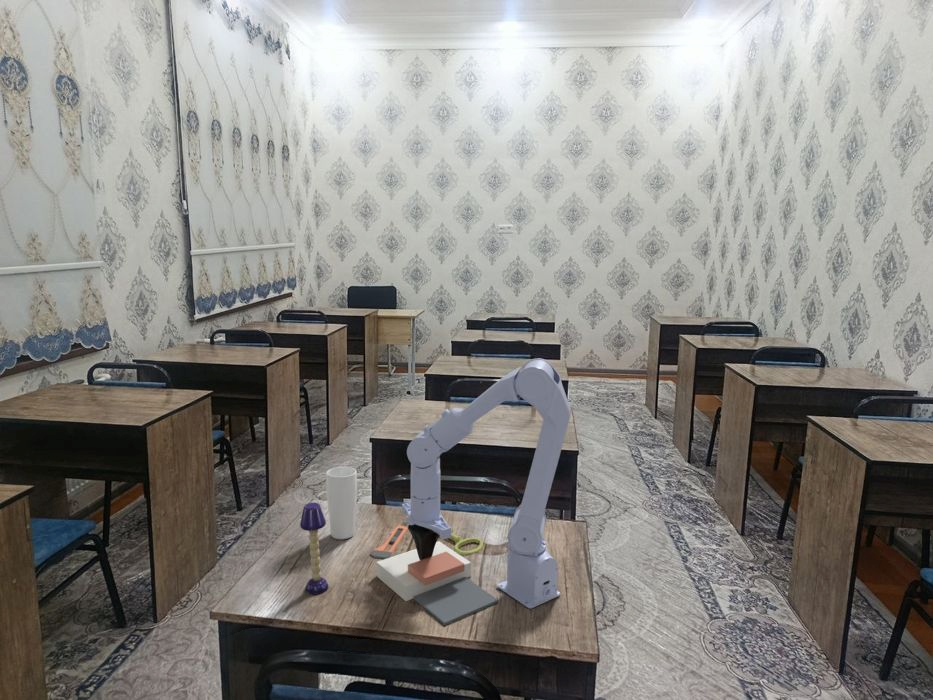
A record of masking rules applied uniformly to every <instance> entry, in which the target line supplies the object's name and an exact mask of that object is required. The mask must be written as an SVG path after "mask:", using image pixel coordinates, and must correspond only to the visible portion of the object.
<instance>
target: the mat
mask: <svg viewBox="0 0 933 700" xmlns="http://www.w3.org/2000/svg"><path fill="white" fill-rule="evenodd" d="M412 600H413V601H415V602H416V603H417V604H418V605H420V607H422V609H425V610H426V611H427V612H428V613H429V614H431V616H433V617H434V619H436V620H437V621H438V622H440V623H441V624H442V625H443V626H446V625H449V624H451V623H453V622H456V621H458V620H460V619H463V618H465V617H468V616H470V615H472V614H475V613H477V612H480V611H482V610H484V609H486V608H489V607H491V606H493V605H495V604H497V603H499V599H497V598H496V597H495V596H493V595H492V594H491V593H489V592H488V591H486V590H485V589H483V588H482V587H480V586H479V585H477V584H476V583H475V582H473V581H472V580H470V579H469V577H468V578H466V577H464V578H461V579H458V580H456V581H453V582H451V583H448V584H445V585H443V586H440V587H438V588H435V589H432V590H430V591H427V592H425V593H422V594H419V595H417V596H414V597H413V599H412Z"/></svg>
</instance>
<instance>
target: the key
mask: <svg viewBox="0 0 933 700" xmlns="http://www.w3.org/2000/svg"><path fill="white" fill-rule="evenodd" d="M449 539H450V540H452V541H453V542H454V544H455V545H454V548H453V551H455V552H456V553H458V554H459V555H461V556H471V555H473V553H474V554H476V553H478V552H480V551H481V550H483V548H484V542H483V540H482V539H480V538H477V537H467V538H465V539H463V537H462V536H460V535H459V536H457V535H456V534H454V533H452V532H451V537H450V538H449ZM471 542H476V543H475V544H478V543H479V544H478V546H477V547H476V548H474V549H471V550H460V548H461V547H463V546H465V545H469V544H472V543H471ZM468 543H469V544H468ZM462 545H463V546H462Z"/></svg>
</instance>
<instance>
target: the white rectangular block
mask: <svg viewBox="0 0 933 700" xmlns="http://www.w3.org/2000/svg"><path fill="white" fill-rule="evenodd" d="M443 552H448V553H449V554H451V555H452V556H454V557H455V558H457V559H458V560H460V561H461V562H463V563H464V571H463V572H461V573H458V574H455V575H453V576H450V577H447V578H445V579H442V580H439V581H436V582H434V583H431V584H428V585H426V586H425V585H423V584H422V583H421V582H420V581H418V580H417V579H416V578H415V577H413V576H412V575H411V574H410V573H408V564H411V563H414V562H417V561H420V560H419V557H418V553H417V549H416V548H415V549H412V550H409V551H406V552H403V553H399V554H396V555H394V556H390V557H389V558H387V559H380V560H378V561H376V562H375V563H376V569H375V570H376V577H377V579H379V580H381V582H383V583H384V584H385V585H386V587H389V588H390V589H391V590H392V591H393V592H395V594H397V595H398V596H399V597H401V599H403V600H404V601H405V602H407V601H411V600H414V599H413V597H414V596H417V595H419V594H422V593H425V592H427V591H430V590H432V589H435V588H438V587H440V586H443V585H445V584H448V583H451V582H453V581H456V580H458V579H461V578H464V577H466V578H468V579H469V578H470V577H471V576H472V573H471V572H472V562H471V561H470V560H468V559H466V558H465V557H464V556H463V555H459V554H458V553H456V552H455V551H454V549H452V548H450V547H448V546H447V545H446V544H444V543H443V542H441V541H438V540H437V542H436V544H435V547H434V551H433V555H432V556H435V555H438V554H440V553H443Z"/></svg>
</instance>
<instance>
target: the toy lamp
mask: <svg viewBox="0 0 933 700" xmlns="http://www.w3.org/2000/svg"><path fill="white" fill-rule="evenodd" d="M300 518H301V519H300V524H299V525H300V528H301V529H302V530H303V531H307V532H308V534H309V536H308V539H309V548H310V550H309V555H310V563H311V578H310V579H308V581H307V582H306V584H305V591H306V593H308V594H310V595H319V594H322V593H323V594H324V593H325V592H326V591H327V590H328V589H329V583H328V581H327V580H326V579H325V578H324V577H322V572H321V569H322V567H321V564H320V563H321V558H320V548H319V547H320V542H319V538H320V537H319V534H318V533H319V530H320V529H322V528H324V527H325V526H326V525H327V523H326V522H327V520H326V518H325V514H324V512H323V509H322V507H321V504H320V503H319V502H308V503H306V504H305V505H304V506H303V509H302V513H301V517H300Z"/></svg>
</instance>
